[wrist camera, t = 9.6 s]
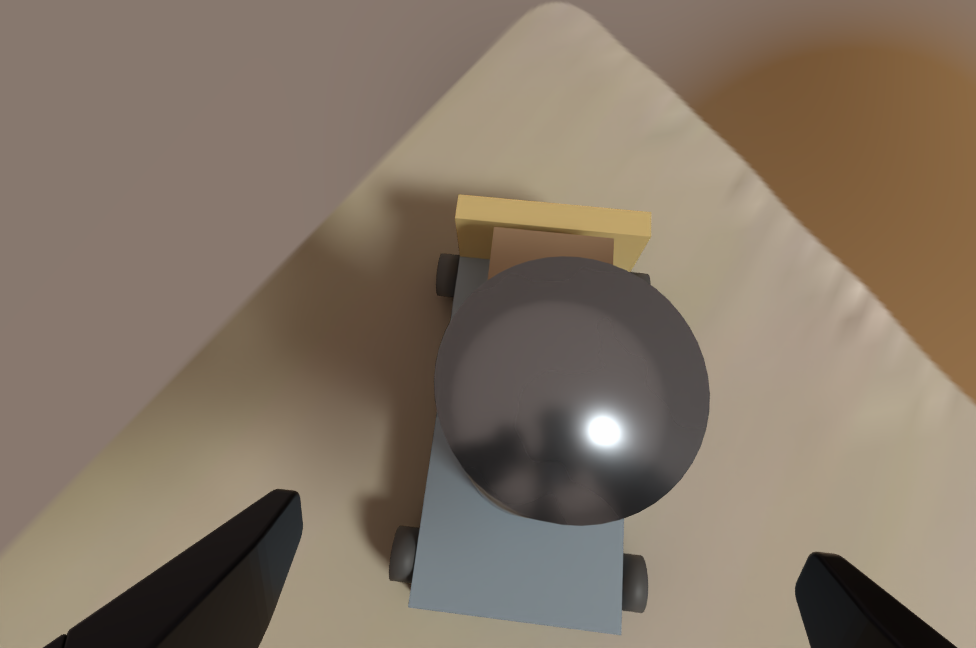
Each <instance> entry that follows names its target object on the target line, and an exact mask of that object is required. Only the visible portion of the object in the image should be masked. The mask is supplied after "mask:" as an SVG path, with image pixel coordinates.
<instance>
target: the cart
mask: <svg viewBox="0 0 976 648" xmlns="http://www.w3.org/2000/svg"><path fill="white" fill-rule="evenodd" d="M455 222H456V230H457V237H458V245H459V253H460V255H452V254H441V255H440V258H439V262H438V268H437V278H436V291H437V295H439V296H448V297H454V300H453V307H452V314H451V319H452V318H453V316H454V315H455V313H456V312H457V310H458V309H459V308H460V306H461V305H462V303H463V302H464V301H465V300H466V299H467V298H468V297H469V296H470V295H471V294H472V293H473V292H474V291H475V290H476V289H477V288H478V287H480V286H481V285H482V284H483V283H485V282H486V281H487V280H488V272H489V264H490V256H491V248H492V240H493V232H494V227H501V228H511V229H522V230H532V231H542V232H553V233H563V234H574V235H584V236H595V237H605V238H614V255H613V265H614V266H617V267H619V268H622V269H624V270H627V271H628V272H630V273H632V274H634V275H636V276H638V277H639V278H641V279H643V280H644V281H646V282H647V283H648V284H650V277H649V275H648V274H644V273H634V272H631V270H632V268H633V267H634V265H635V263H636V261H637V260H638V258H639V256H640V255H641V253H642V251H643V249H644V248H645V246H646V244H647V243H648V241H649V239H650V238H651V212H642V211H632V210H621V209H610V208H600V207H589V206H578V205H567V204H557V203H546V202H535V201H525V200H514V199H503V198H492V197H482V196H471V195H460V194H459V195H458V202H457V208H456V215H455ZM450 321H451V320H450ZM623 537H624V519H621V520H617V521H613V522H609V523H604V524H598V525H587V526H574V525H560V524H555V523H550V522H545V521H539V520H534V519H529V518H524V517H519V516H514V515H510V514H508V513H505V512H503V511H501V510H499V509H497V508H495V507H494V506H492V505H491V504H490V503H489V502H488V501H486V500H485V499H484V498H483V497H482V495H481V494H480V493H479V492H478V490H477V489H476V487H475V486H474V484H473V483H472V481H471V480H470V478H469V476H468V475H467V473H466V472H465V470H464V469H463V467H462V466H461V464H460V463H459V461H458V460H457V458H456V457H455V455H454V453H453V452H452V450H451V448H450V446H449V444H448V442H447V440H446V438H445V436H444V433H443V430H442V427H441V424H440V421H439V418H438V413H437V415H436V422H435V429H434V436H433V442H432V449H431V456H430V463H429V470H428V476H427V483H426V490H425V497H424V503H423V510H422V517H421V524H420V528H414V527H406V526H399V527H398V529H397V531H396V534H395V538H394V542H393V546H392V551H391V557H390V565H389V579H390V581H398V582H405V583H412V585H411V592H410V598H409V605H408V607H410V608H417V609H425V610H432V611H440V612H448V613H455V614H463V615H471V616H478V617H486V618H494V619H501V620H509V621H516V622H524V623H532V624H539V625H547V626H555V627H562V628H570V629H578V630H585V631H593V632H600V633H608V634H616V635H621V623H622V610H623V611H631V612H638V613H643V612H644V610H645V608H646V604H647V597H648V575H647V568H646V564H645V560H644V558H643V557H642V556H641V555H632V554H624V553H623Z"/></svg>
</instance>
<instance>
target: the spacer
mask: <svg viewBox="0 0 976 648" xmlns="http://www.w3.org/2000/svg"><path fill="white" fill-rule="evenodd" d="M434 390H435V402H436V408H437V413H438V418H439V421H440V424H441V427H442V430H443V433H444V436H445V438H446V440H447V442H448V444H449V446H450V448H451V450H452V452H453V453H454V455H455V457H456V458H457V460H458V461H459V463H460V464H461V466H462V467H463V469H464V470H465V472H466V473H467V475H468V476H469V478H470V480H471V481H472V483H473V484H474V486H475V487H476V489H477V490H478V492H479V493H480V494H481V495H482V497H483V498H484V499H485V500H486V501H488V502H489V503H490V504H491V505H492V506H494V507H495V508H497V509H499V510H501V511H503V512H505V513H508V514H510V515H514V516H519V517H524V518H529V519H534V520H539V521H545V522H550V523H555V524H560V525H574V526H587V525H598V524H604V523H609V522H613V521H617V520H621V519H624V518H626V517H629V516H631V515H634V514H636V513H639V512H640V511H642V510H644V509H646V508H647V507H649V506H651V505H652V504H654V503H656V502H657V501H658V500H659V499H661V498H662V497H663V496H664V495H666V494H667V493H668V492H669V491H670V490H671V489H672V488H673V487H674V486H675V485H676V484H677V483H678V482H679V481H680V480H681V479H682V477H683V476H684V474H685V473H686V472H687V470H688V469H689V467H690V466H691V464H692V463H693V461H694V459H695V457H696V455H697V453H698V451H699V449H700V447H701V444H702V440H703V437H704V434H705V431H706V427H707V421H708V415H709V401H710V392H709V382H708V374H707V370H706V366H705V362H704V358H703V355H702V353H701V350H700V347H699V345H698V342H697V340H696V338H695V337H694V335H693V333H692V331H691V329H690V327H689V326H688V324H687V323H686V321H685V320H684V318H683V317H682V316H681V314H680V313H679V312H678V310H677V309H676V308H675V307H674V306H673V305H672V304H671V303H670V301H669V300H668V299H667V298H666V297H664V296H663V295H662V294H661V293H660V292H659V291H658V290H657V289H655V288H654V287H653V286H651V285H650V284H648V283H647V282H646V281H644V280H643V279H641V278H639V277H638V276H636V275H634V274H632V273H630V272H628V271H627V270H624V269H622V268H619V267H617V266H614V265H612V264H609V263H605V262H602V261H598V260H594V259H588V258H581V257H566V256H560V257H547V258H541V259H536V260H531V261H527V262H524V263H521V264H518V265H515V266H513V267H511V268H508V269H506V270H504V271H502V272H500V273H498V274H497V275H495V276H494V277H492V278H490V279H489V280H487V281H486V282H485V283H483V284H482V285H481V286H480V287H478V288H477V289H476V290H475V291H474V292H473V293H472V294H471V295H470V296H469V297H468V298H467V299H466V300H465V301H464V302H463V303H462V305H461V306H460V308H459V309H458V310H457V312H456V313H455V315H454V316H453V318H452V319H451V321H450V323H449V325H448V327H447V329H446V331H445V333H444V336H443V339H442V341H441V344H440V347H439V351H438V355H437V360H436V365H435V376H434Z"/></svg>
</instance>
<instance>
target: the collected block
mask: <svg viewBox="0 0 976 648" xmlns="http://www.w3.org/2000/svg"><path fill="white" fill-rule="evenodd" d="M613 255H614V238H605V237H595V236H584V235H574V234H563V233H553V232H542V231H532V230H522V229H511V228H501V227H494V232H493V240H492V248H491V256H490V264H489V272H488V280H489V279H490V278H492V277H494V276H495V275H497V274H498V273H500V272H502V271H504V270H506V269H508V268H511V267H513V266H515V265H518V264H521V263H524V262H527V261H531V260H536V259H541V258H547V257H560V256H566V257H581V258H588V259H594V260H598V261H602V262H605V263H609V264H612V265H613Z"/></svg>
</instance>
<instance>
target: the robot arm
mask: <svg viewBox="0 0 976 648" xmlns="http://www.w3.org/2000/svg"><path fill="white" fill-rule="evenodd" d="M302 530H303V521H302V511H301V501H300V495H299V493H298V492H296V491H293V490H284V489H275V490H273V491H271V492H270V493H268V494H267V495H265V496H264V497H262V498H261V499H259V500H258V501H256V502H255V503H254V504H252V505H251V506H249V507H248V508H246V509H245V510H243V511H242V512H240V513H239V514H237V515H236V516H235V517H233V518H232V519H230V520H229V521H227V522H226V523H224V524H223V525H221V526H220V527H218V528H217V529H216V530H214V531H213V532H211V533H210V534H208V535H207V536H205V537H204V538H202V539H201V540H200V541H198V542H197V543H195V544H194V545H192V546H191V547H189V548H188V549H186V550H185V551H183V552H182V553H181V554H179V555H178V556H176V557H175V558H173V559H172V560H170V561H169V562H167V563H166V564H164V565H163V566H162V567H160V568H159V569H157V570H156V571H154V572H153V573H151V574H150V575H148V576H147V577H146V578H144V579H143V580H141V581H140V582H138V583H137V584H135V585H134V586H132V587H131V588H129V589H128V590H127V591H125V592H124V593H122V594H121V595H119V596H118V597H116V598H115V599H113V600H112V601H111V602H109V603H108V604H106V605H105V606H103V607H102V608H100V609H99V610H97V611H96V612H94V613H93V614H92V615H90V616H89V617H87V618H86V619H84V620H83V621H81V622H80V623H78V624H77V625H75V626H74V627H73V628H71V629H70V630H69V631H68V633H67V635H66V634H63V635H61V636H59V637H58V638H56V639H55V640H53V641H52V642H50V643H49V644H47V645H46V646H45V647H43V648H258V647H259V645H260V643H261V641H262V639H263V636H264V634H265V632H266V630H267V628H268V625H269V623H270V620H271V618H272V615H273V613H274V610H275V607H276V605H277V602H278V599H279V597H280V594H281V591H282V588H283V586H284V583H285V580H286V577H287V575H288V572H289V569H290V566H291V564H292V561H293V558H294V555H295V553H296V550H297V547H298V544H299V542H300V539H301V535H302ZM795 595H796V600H797V604H798V607H799V610H800V613H801V617H802V620H803V623H804V627H805V630H806V633H807V636H808V640H809V643H810V646H811V648H957V647H956V646H955V645H953V644H952V643H951V642H950V641H948V640H947V639H946V638H944V637H943V636H942V635H941V634H939V633H938V632H937V631H936V630H934V629H933V628H932V627H930V626H929V625H928V624H927V623H925V622H924V621H923V620H922V619H920V618H919V617H918V616H917V615H915V614H914V613H913V612H911V611H910V610H909V609H908V608H906V607H905V606H904V605H903V604H901V603H900V602H899V601H898V600H896V599H895V598H894V597H892V596H891V595H890V594H889V593H887V592H886V591H885V590H884V589H882V588H881V587H880V586H878V585H877V584H876V583H875V582H873V581H872V580H871V579H870V578H868V577H867V576H866V575H865V574H863V573H862V572H861V571H859V570H858V569H857V568H856V567H854V566H853V565H852V564H851V563H849V562H848V561H847V560H846V559H844V558H843V557H841V556H839V555H837V554H832V553H823V552H813V553H812V554H810V555H809V557H808V558H807V561H806V563H805V565H804V567H803V569H802V571H801V574H800V576H799V578H798V580H797V582H796V586H795Z"/></svg>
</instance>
